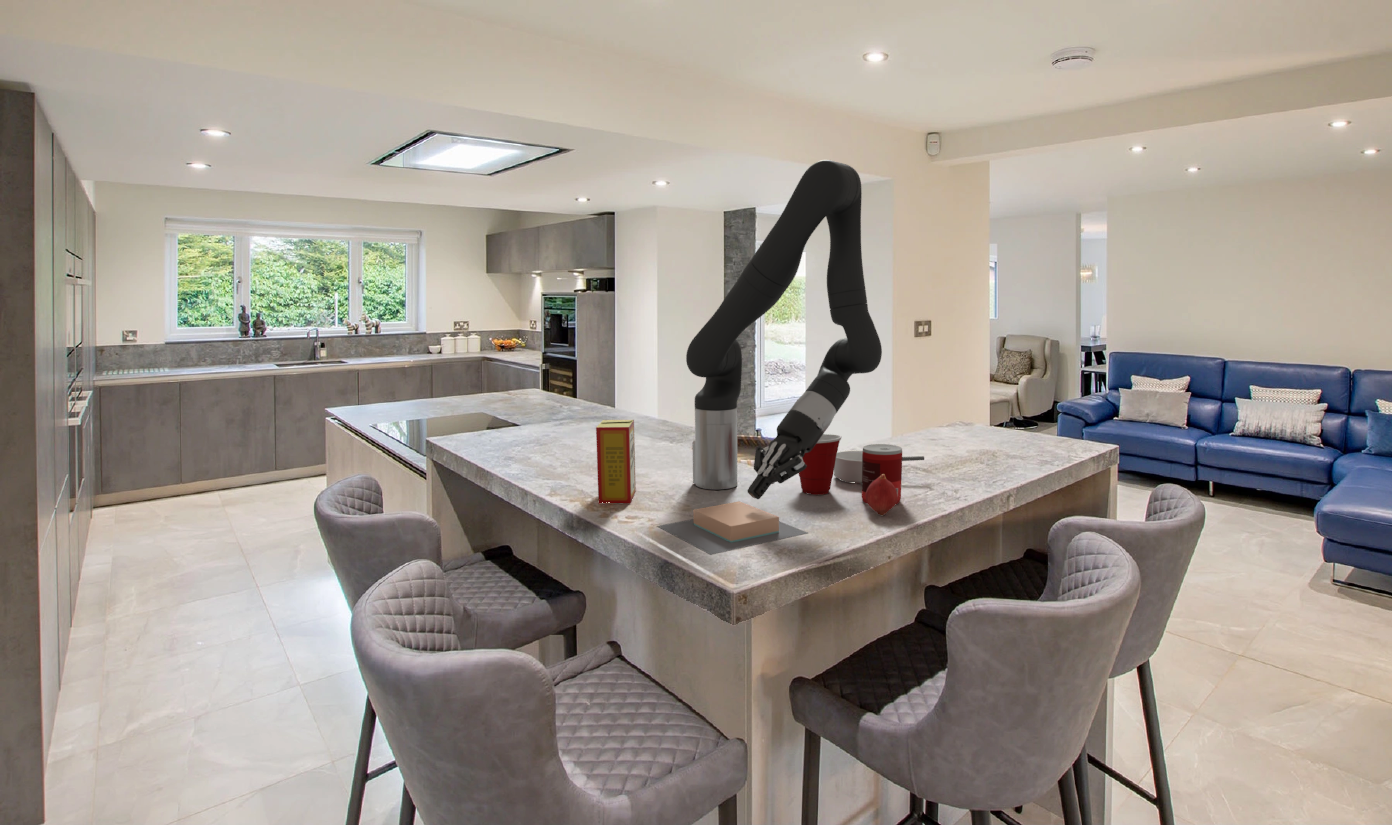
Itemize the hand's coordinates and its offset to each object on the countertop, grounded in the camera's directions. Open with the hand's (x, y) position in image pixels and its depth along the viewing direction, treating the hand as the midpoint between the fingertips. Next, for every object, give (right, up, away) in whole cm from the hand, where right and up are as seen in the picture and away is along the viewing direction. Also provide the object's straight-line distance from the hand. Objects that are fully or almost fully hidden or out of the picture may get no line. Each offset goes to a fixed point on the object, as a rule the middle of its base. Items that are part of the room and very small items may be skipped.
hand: (752, 495), depth 133 cm
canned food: (+27, -3, +17) cm, 32 cm away
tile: (+1, -4, +1) cm, 4 cm away
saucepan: (+31, -1, +35) cm, 47 cm away
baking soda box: (-26, -3, +23) cm, 35 cm away
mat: (-4, -6, -2) cm, 7 cm away
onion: (+25, -5, +8) cm, 26 cm away
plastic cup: (+15, -2, +25) cm, 30 cm away
